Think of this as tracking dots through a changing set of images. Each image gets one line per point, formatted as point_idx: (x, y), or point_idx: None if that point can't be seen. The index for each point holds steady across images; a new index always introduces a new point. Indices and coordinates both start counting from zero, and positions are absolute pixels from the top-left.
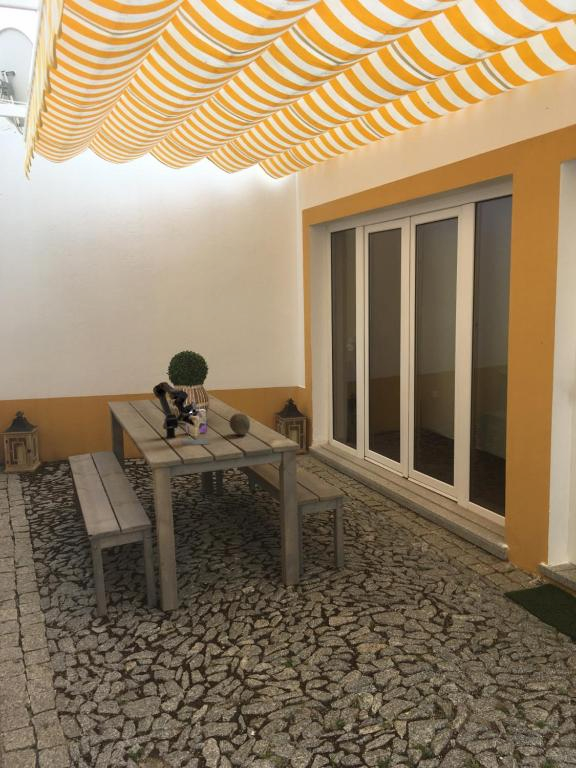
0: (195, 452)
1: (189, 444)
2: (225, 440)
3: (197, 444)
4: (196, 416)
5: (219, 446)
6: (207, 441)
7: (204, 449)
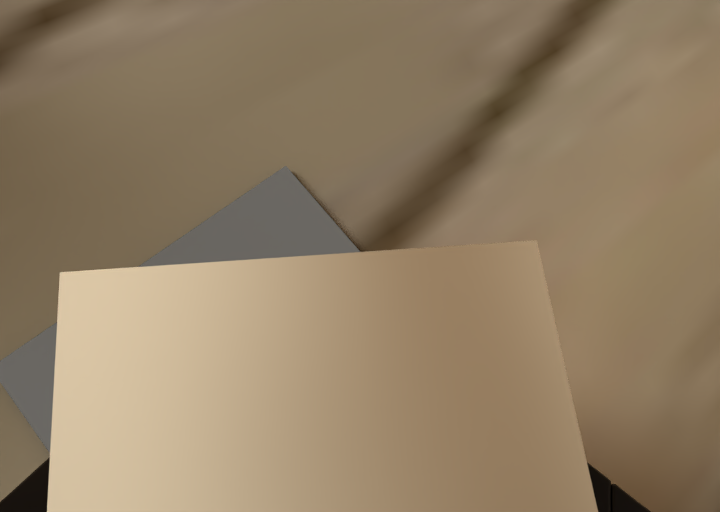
0: (693, 122)
1: None
2: (5, 92)
3: None
4: (146, 422)
5: (346, 16)
6: None
7: (543, 100)
